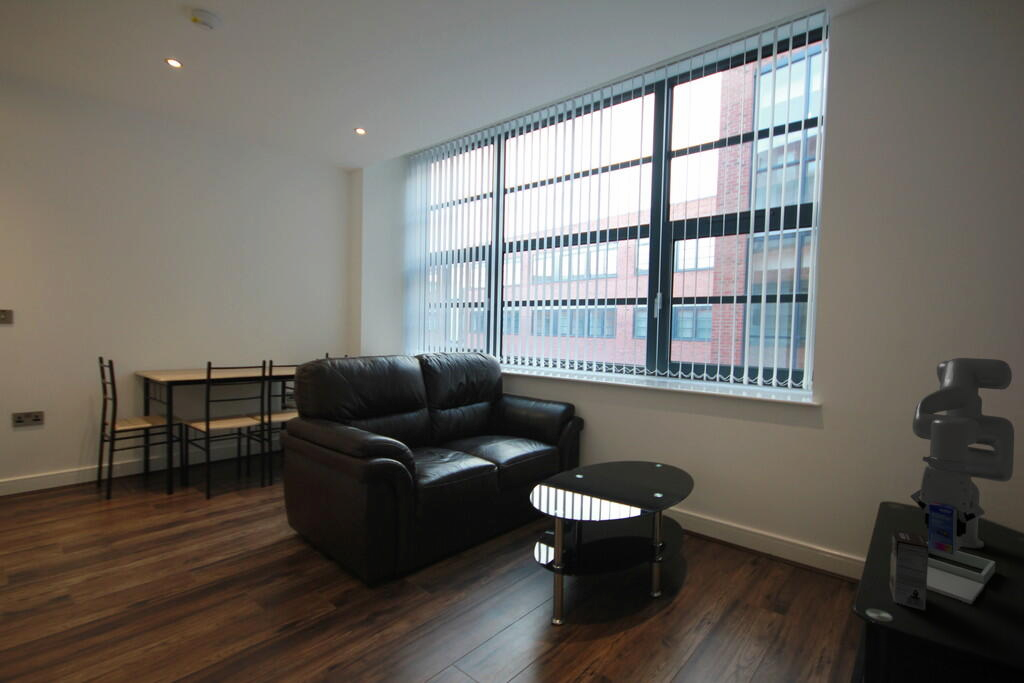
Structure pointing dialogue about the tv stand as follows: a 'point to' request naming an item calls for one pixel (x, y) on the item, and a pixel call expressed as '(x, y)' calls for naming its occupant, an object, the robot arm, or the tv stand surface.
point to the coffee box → (909, 569)
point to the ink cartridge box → (943, 528)
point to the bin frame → (964, 558)
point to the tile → (953, 585)
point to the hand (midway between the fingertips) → (944, 530)
